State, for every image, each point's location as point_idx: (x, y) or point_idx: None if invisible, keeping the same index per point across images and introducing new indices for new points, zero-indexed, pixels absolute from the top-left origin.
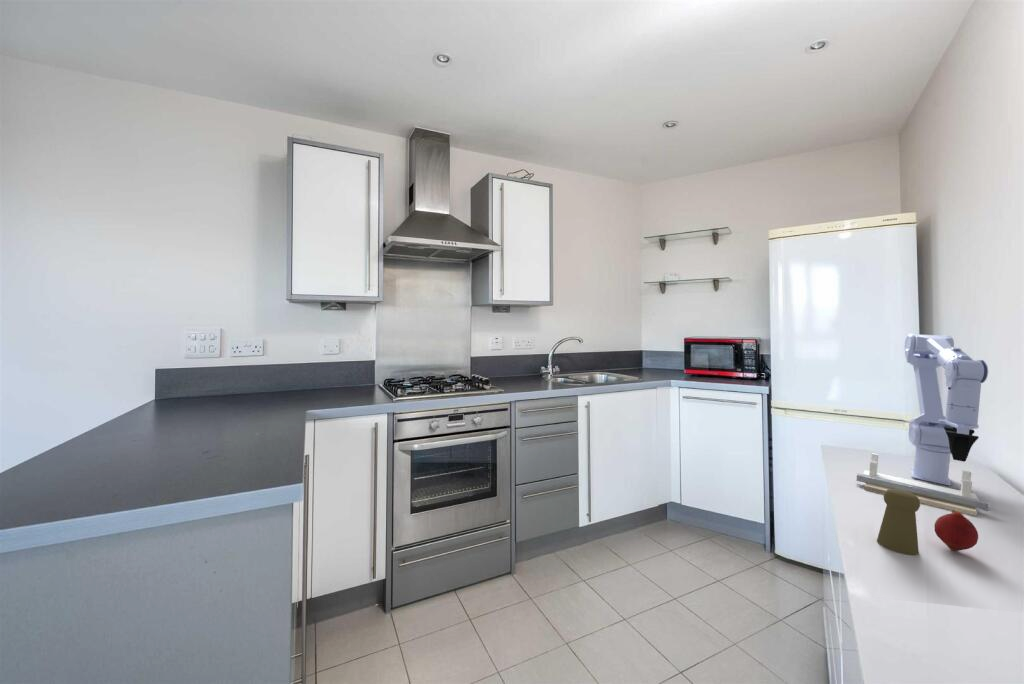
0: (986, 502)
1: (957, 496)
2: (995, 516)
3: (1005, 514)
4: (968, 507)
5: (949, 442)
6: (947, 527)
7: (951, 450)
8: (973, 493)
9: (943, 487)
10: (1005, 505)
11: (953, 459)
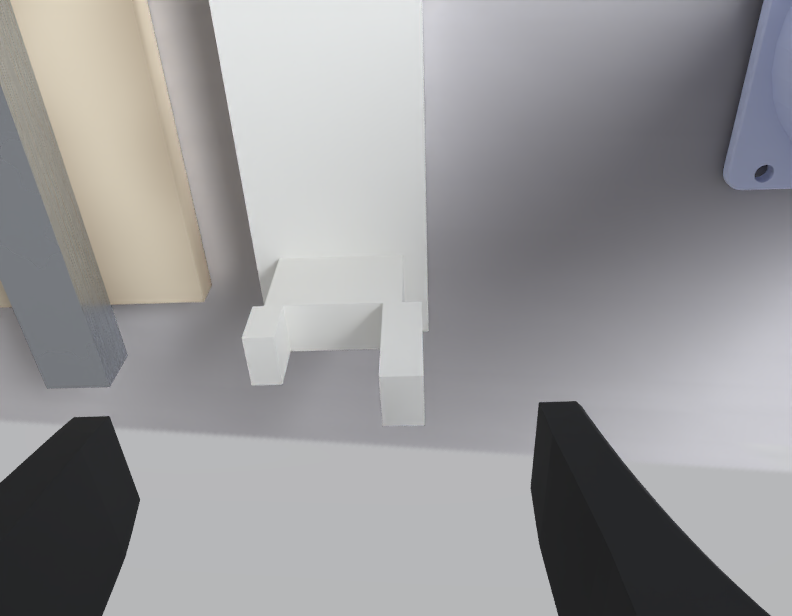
0: (87, 381)
1: (21, 247)
2: None
3: (225, 405)
4: None
5: (604, 537)
6: None
7: (9, 504)
8: (425, 320)
9: (409, 151)
10: (456, 419)
11: (71, 419)
